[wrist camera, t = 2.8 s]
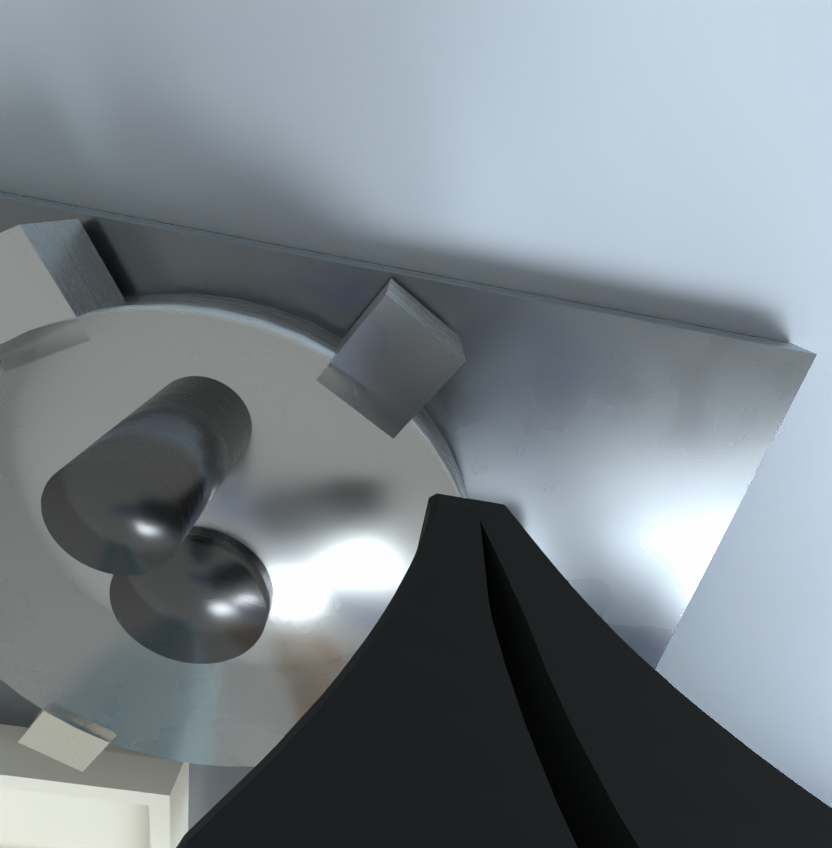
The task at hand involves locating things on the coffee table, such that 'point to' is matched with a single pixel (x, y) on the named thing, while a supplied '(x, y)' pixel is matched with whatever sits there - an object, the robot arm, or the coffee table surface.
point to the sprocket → (198, 501)
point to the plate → (518, 414)
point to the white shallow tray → (90, 799)
